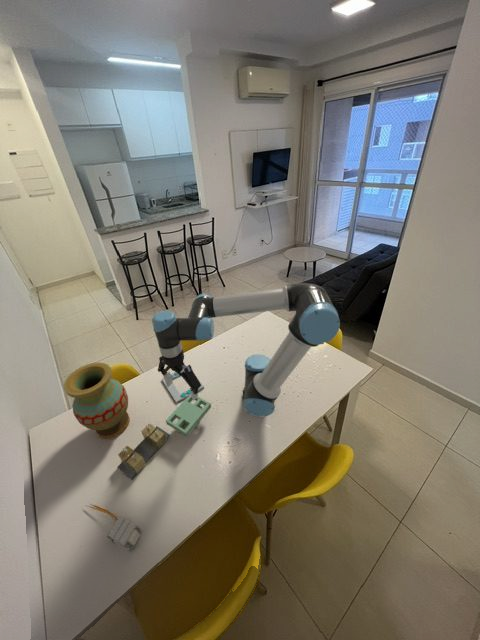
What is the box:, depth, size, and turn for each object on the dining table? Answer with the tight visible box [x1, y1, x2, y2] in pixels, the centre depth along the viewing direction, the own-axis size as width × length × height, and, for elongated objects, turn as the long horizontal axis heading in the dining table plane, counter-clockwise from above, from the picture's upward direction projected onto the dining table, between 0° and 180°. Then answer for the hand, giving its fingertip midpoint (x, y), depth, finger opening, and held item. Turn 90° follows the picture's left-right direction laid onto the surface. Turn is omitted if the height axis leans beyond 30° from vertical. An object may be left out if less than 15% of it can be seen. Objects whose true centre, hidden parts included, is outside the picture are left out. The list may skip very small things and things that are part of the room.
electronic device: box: [161, 369, 205, 404], centre depth 131 cm, size 18×2×15 cm
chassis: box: [116, 423, 171, 481], centre depth 101 cm, size 9×20×8 cm, turn 148°
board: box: [165, 394, 212, 438], centre depth 109 cm, size 11×16×2 cm
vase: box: [63, 362, 130, 440], centre depth 106 cm, size 20×20×30 cm
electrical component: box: [84, 502, 143, 553], centre depth 83 cm, size 24×6×5 cm, turn 69°
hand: (182, 391), depth 104 cm, fingers open, 13 cm apart
